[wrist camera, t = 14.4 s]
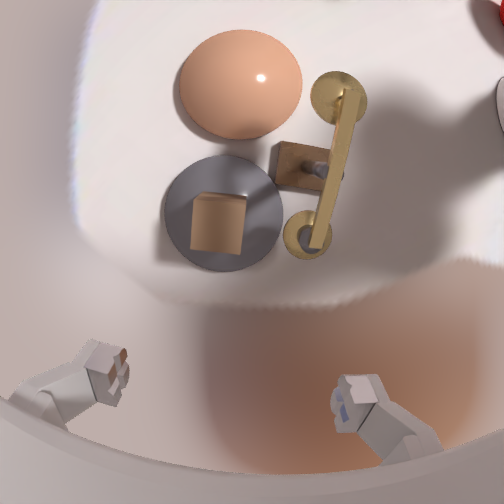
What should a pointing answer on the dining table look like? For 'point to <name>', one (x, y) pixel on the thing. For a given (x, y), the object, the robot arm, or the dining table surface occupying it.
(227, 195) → the walnut block
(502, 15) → the ceramic cup
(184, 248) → the charcoal dish
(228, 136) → the terracotta dish
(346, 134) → the balance
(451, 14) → the dining table surface
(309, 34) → the dining table surface
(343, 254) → the dining table surface
